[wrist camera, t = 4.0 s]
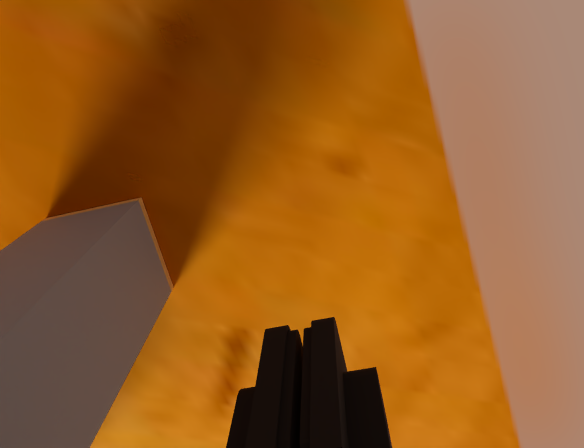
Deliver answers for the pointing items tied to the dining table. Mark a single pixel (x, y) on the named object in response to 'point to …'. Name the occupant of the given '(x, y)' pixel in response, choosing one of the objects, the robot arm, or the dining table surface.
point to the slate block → (75, 321)
